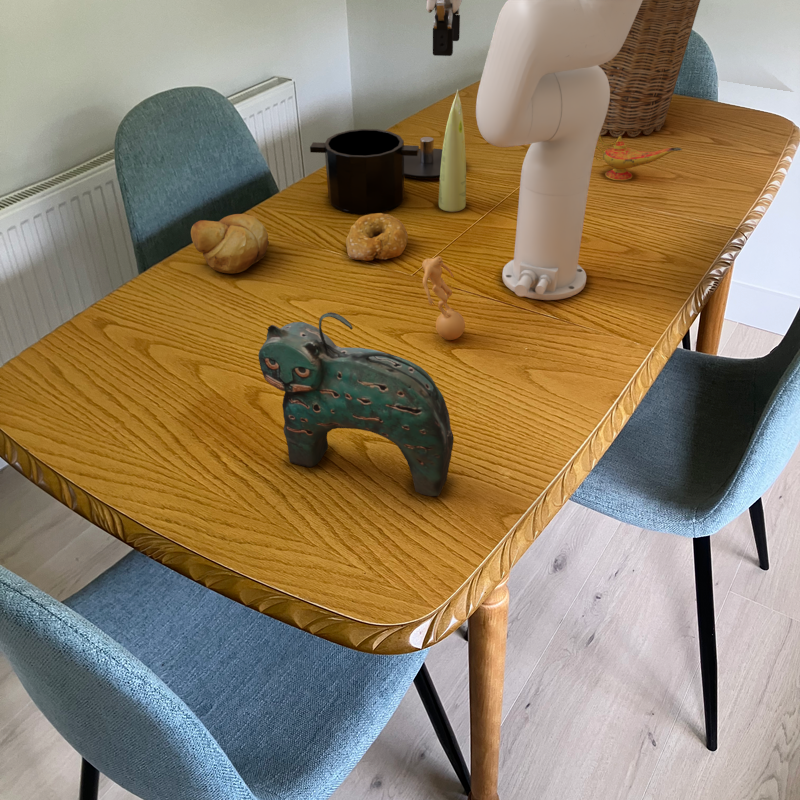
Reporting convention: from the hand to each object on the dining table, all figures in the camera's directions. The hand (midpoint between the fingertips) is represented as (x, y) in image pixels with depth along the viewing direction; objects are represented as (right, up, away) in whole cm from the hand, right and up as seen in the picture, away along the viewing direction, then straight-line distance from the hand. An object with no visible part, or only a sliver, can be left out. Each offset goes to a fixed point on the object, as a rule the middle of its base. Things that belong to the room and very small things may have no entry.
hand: (446, 47), depth 128 cm
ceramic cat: (-12, -66, -42) cm, 79 cm away
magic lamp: (+36, -16, +21) cm, 45 cm away
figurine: (-2, -50, -22) cm, 54 cm away
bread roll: (-33, -36, -3) cm, 49 cm away
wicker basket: (+41, +4, +46) cm, 61 cm away
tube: (+2, -24, +11) cm, 26 cm away
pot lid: (-2, -12, +26) cm, 28 cm away
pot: (-14, -21, +15) cm, 29 cm away
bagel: (-12, -34, -1) cm, 36 cm away
